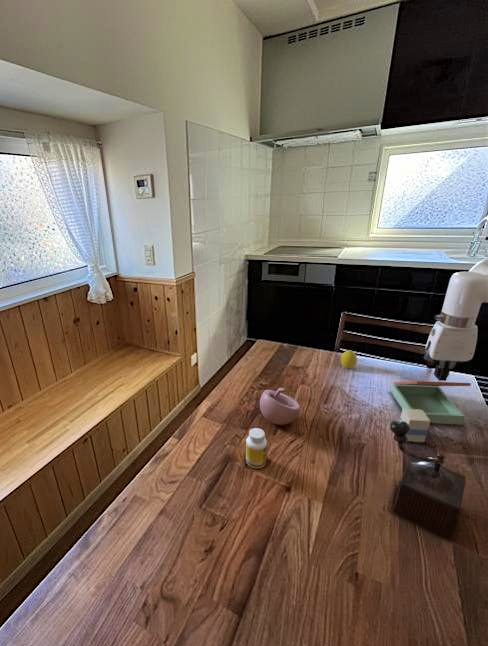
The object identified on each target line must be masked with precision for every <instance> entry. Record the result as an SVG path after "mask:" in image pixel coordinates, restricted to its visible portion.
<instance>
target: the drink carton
mask: <svg viewBox="0 0 488 646" xmlns="http://www.w3.org/2000/svg"><path fill="white" fill-rule="evenodd" d="M399 420H401V421H404V422H407V424H408V425H409V427H410V429H409V431H408V432H407V434H406V437H407V439H408V440H407V441H406V442H415V443H425V442H426V438H427V435H428V432H429V428H430V424H431V423H430V420H429V418H428V417H427V416H426V414H425V413H424V411H423V410H419V409H402V408H401V413H400V417H399Z"/></svg>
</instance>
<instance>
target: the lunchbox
mask: <svg viewBox="0 0 488 646" xmlns="http://www.w3.org/2000/svg"><path fill="white" fill-rule="evenodd" d="M391 394H392V396H393V397H394V398H395V400H396V402H397V403H398V404H399V406H400V408H401V410H402V409H419V410H423V411H424V413H425V414H426V416H427V417H428V418H429V420H430V424H443V425H445V424H446V425H458V426H459V425H461V426H462V425H463V424H464V421H465V417H466V416H465V414H464V413H463V411H461V410H460V409H459V408H458V406H457V405H456V404H455V403H454V402H453V401H452V400H451V398H450V397H449V396H448V394H446V392H445V391H444V390H443V389H442V388H441V386H420V385H395V384H392V389H391Z"/></svg>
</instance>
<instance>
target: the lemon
mask: <svg viewBox="0 0 488 646" xmlns="http://www.w3.org/2000/svg"><path fill="white" fill-rule="evenodd" d="M357 363H358V356H357V354H356V352H355V351H352V350H351V349H349V350H346V351H344V352H343V353H342V354H341V357H340V364H341V366H342V367H343V368H345V369H347V370H349V369H352V368H354V367H355V366H356V365H357Z"/></svg>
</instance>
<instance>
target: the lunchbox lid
mask: <svg viewBox="0 0 488 646" xmlns="http://www.w3.org/2000/svg"><path fill="white" fill-rule="evenodd" d="M393 385H419V386H439V387H471V385H472V383H471V382H454V381H453V382H451V381H429V380H428V381H427V380H425V381H424V380H412V381H411V380H410V381H393Z"/></svg>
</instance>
